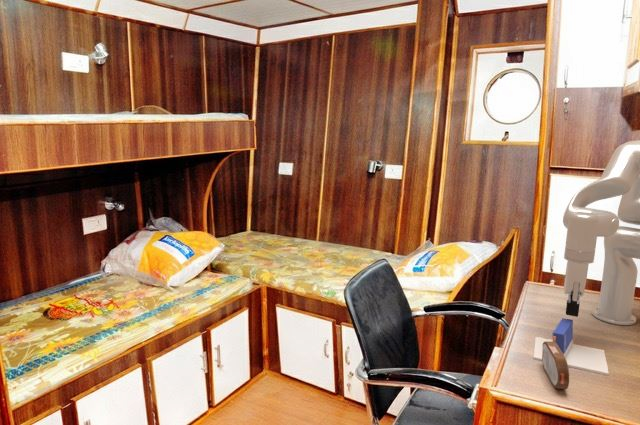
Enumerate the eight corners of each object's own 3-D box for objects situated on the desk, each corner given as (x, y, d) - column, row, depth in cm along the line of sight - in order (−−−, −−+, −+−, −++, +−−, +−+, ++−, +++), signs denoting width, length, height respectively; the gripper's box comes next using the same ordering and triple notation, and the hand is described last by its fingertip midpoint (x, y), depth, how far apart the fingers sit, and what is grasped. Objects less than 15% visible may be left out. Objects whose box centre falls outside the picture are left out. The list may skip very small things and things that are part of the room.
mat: (535, 338, 140) (535, 336, 140) (603, 352, 132) (604, 350, 132) (533, 359, 128) (533, 357, 128) (608, 375, 120) (608, 373, 120)
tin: (568, 396, 110) (572, 364, 109) (554, 394, 111) (558, 362, 109) (550, 364, 125) (554, 336, 123) (538, 363, 126) (541, 334, 124)
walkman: (562, 317, 134) (552, 333, 125) (572, 319, 132) (563, 335, 123) (562, 343, 135) (552, 359, 126) (572, 345, 134) (563, 362, 125)
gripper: (564, 247, 140) (557, 303, 143) (564, 259, 127) (557, 321, 130) (592, 250, 136) (585, 308, 140) (596, 263, 123) (587, 327, 127)
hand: (571, 314), depth 135 cm, fingers closed
